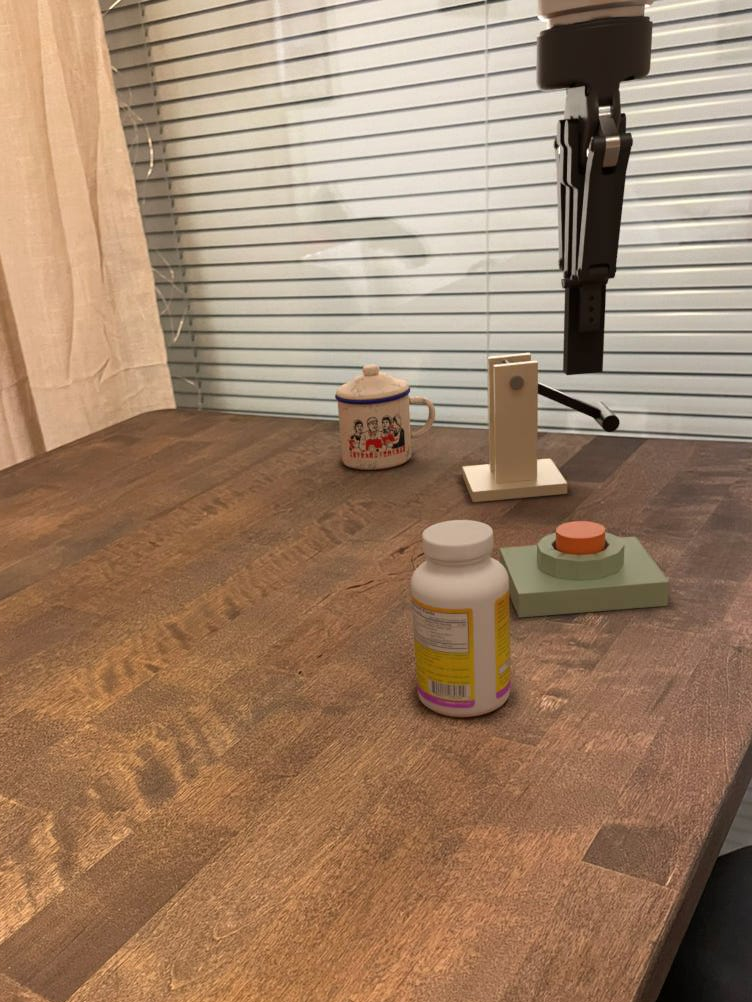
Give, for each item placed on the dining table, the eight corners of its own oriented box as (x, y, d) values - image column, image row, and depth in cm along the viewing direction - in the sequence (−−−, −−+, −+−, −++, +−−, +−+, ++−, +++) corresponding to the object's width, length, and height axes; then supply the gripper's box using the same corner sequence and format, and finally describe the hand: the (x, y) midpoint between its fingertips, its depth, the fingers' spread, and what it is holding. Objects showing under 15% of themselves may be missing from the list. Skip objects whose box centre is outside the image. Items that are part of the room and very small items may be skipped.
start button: (598, 538, 87) (599, 519, 86) (610, 555, 83) (611, 536, 82) (551, 542, 87) (551, 523, 86) (560, 559, 84) (561, 540, 83)
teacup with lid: (343, 475, 121) (335, 378, 116) (337, 453, 130) (330, 362, 124) (442, 463, 121) (439, 366, 116) (430, 443, 129) (426, 351, 124)
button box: (634, 558, 91) (636, 517, 89) (667, 606, 82) (671, 560, 80) (499, 570, 92) (499, 529, 90) (518, 618, 83) (518, 573, 81)
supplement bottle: (485, 667, 76) (482, 507, 70) (527, 708, 70) (527, 537, 65) (403, 686, 75) (393, 525, 69) (438, 730, 69) (431, 558, 63)
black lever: (598, 422, 111) (610, 402, 110) (612, 437, 106) (624, 416, 105) (491, 375, 109) (501, 355, 108) (499, 388, 104) (510, 367, 103)
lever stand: (550, 468, 115) (552, 346, 109) (567, 493, 107) (570, 363, 101) (462, 476, 116) (459, 355, 110) (472, 502, 108) (469, 373, 102)
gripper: (520, 34, 74) (519, 359, 84) (557, 17, 62) (550, 396, 73) (625, 21, 73) (610, 350, 84) (681, 2, 62) (656, 386, 72)
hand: (582, 371), depth 78 cm, fingers closed
